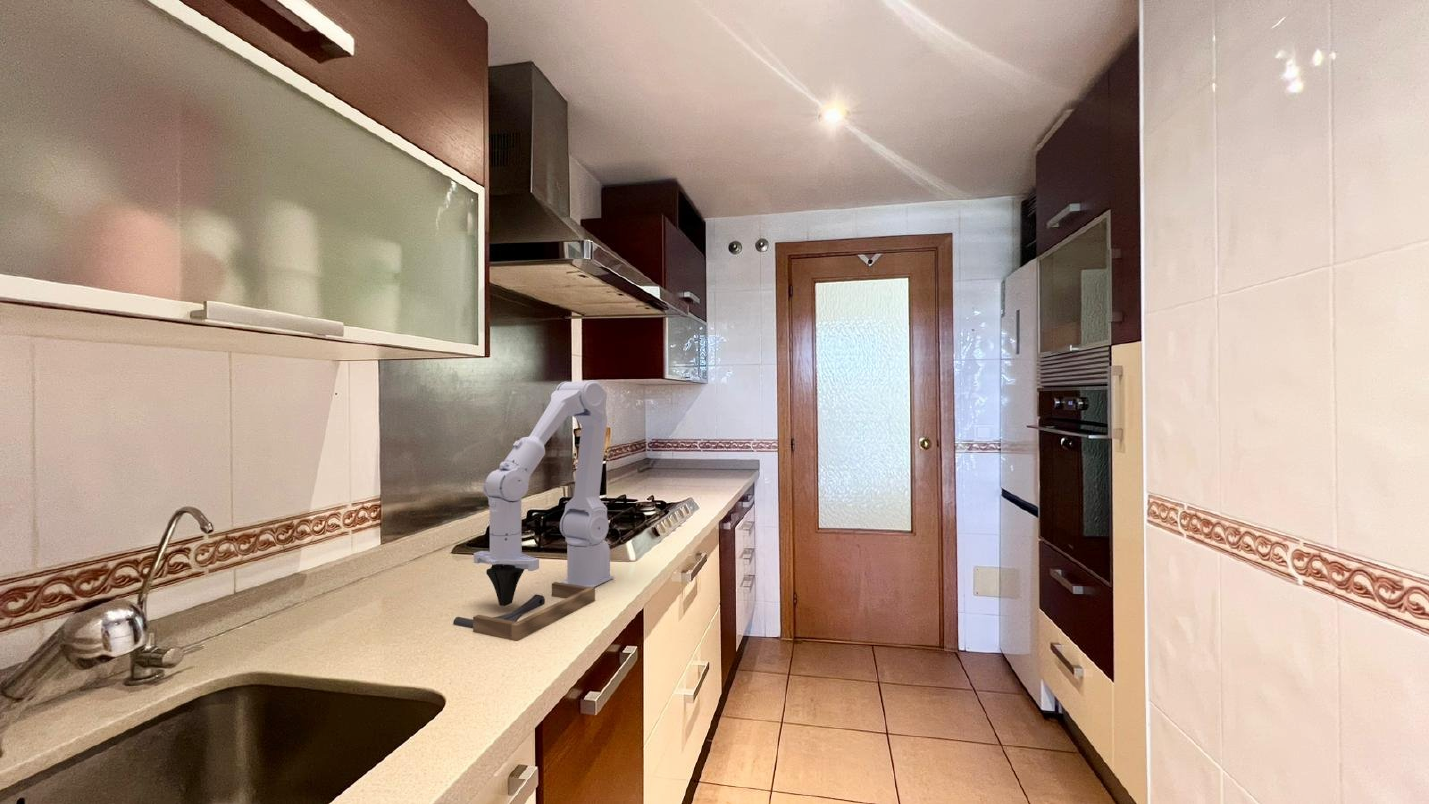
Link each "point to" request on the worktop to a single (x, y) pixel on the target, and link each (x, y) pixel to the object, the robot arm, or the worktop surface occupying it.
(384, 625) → the worktop surface
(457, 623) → the bracket
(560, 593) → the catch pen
